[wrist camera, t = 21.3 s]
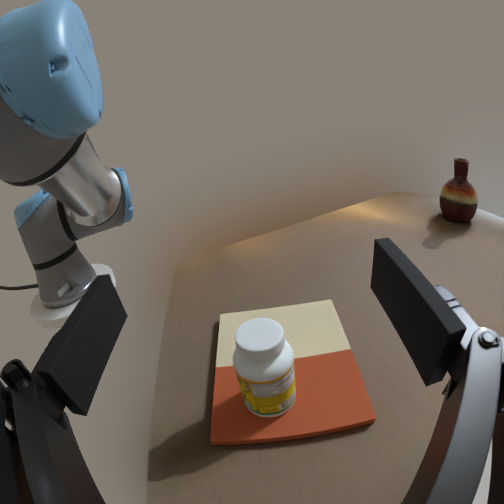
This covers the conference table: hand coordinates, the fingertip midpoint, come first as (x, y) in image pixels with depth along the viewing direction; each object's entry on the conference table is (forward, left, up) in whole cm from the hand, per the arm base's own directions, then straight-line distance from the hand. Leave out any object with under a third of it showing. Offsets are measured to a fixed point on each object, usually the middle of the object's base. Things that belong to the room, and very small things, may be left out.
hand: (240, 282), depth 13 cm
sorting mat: (+2, +11, -19) cm, 22 cm away
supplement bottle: (0, +6, -19) cm, 19 cm away
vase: (+53, +45, -20) cm, 72 cm away
